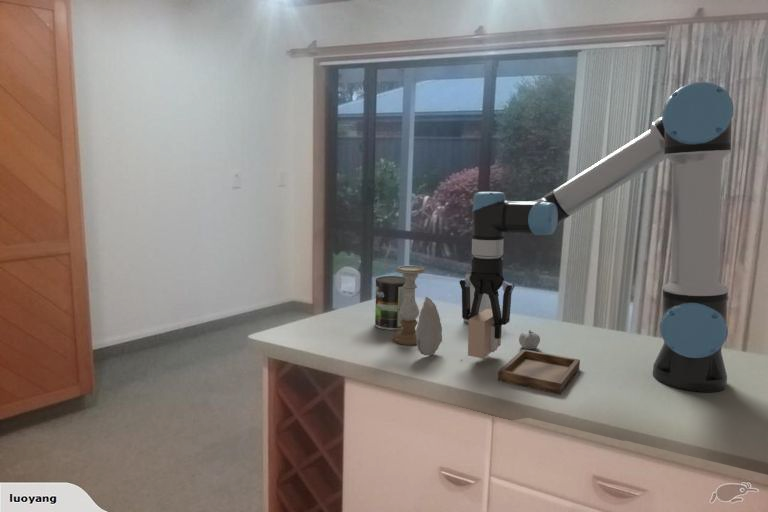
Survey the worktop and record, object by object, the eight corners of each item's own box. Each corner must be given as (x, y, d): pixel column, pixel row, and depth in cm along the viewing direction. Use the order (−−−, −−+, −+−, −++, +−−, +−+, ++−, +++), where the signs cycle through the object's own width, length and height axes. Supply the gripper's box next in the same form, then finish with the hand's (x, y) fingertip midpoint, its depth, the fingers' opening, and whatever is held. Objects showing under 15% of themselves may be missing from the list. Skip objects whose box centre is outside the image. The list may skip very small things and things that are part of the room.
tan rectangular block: (500, 345, 148) (501, 310, 146) (483, 358, 137) (484, 321, 136) (485, 342, 150) (486, 308, 148) (467, 355, 139) (468, 319, 138)
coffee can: (380, 331, 167) (381, 283, 164) (370, 321, 176) (371, 276, 174) (414, 329, 170) (415, 282, 168) (402, 319, 180) (403, 275, 177)
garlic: (538, 353, 151) (539, 333, 150) (517, 350, 152) (518, 331, 152) (540, 346, 156) (541, 327, 155) (519, 343, 158) (520, 325, 157)
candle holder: (429, 343, 157) (432, 269, 153) (400, 346, 154) (401, 271, 150) (416, 334, 165) (418, 264, 161) (387, 337, 162) (389, 265, 158)
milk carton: (493, 320, 180) (496, 260, 177) (484, 325, 174) (487, 263, 171) (472, 316, 184) (475, 258, 181) (463, 322, 178) (465, 261, 175)
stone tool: (422, 361, 143) (424, 302, 140) (412, 358, 145) (413, 299, 142) (443, 352, 150) (445, 295, 147) (433, 349, 152) (435, 293, 149)
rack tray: (579, 369, 139) (579, 359, 139) (560, 394, 124) (561, 383, 123) (522, 358, 146) (522, 349, 146) (497, 380, 131) (498, 370, 130)
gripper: (526, 256, 139) (523, 350, 142) (460, 251, 147) (458, 339, 151) (516, 261, 132) (513, 359, 136) (448, 255, 141) (446, 347, 145)
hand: (484, 348), depth 143 cm, fingers closed on tan rectangular block, 4 cm apart
